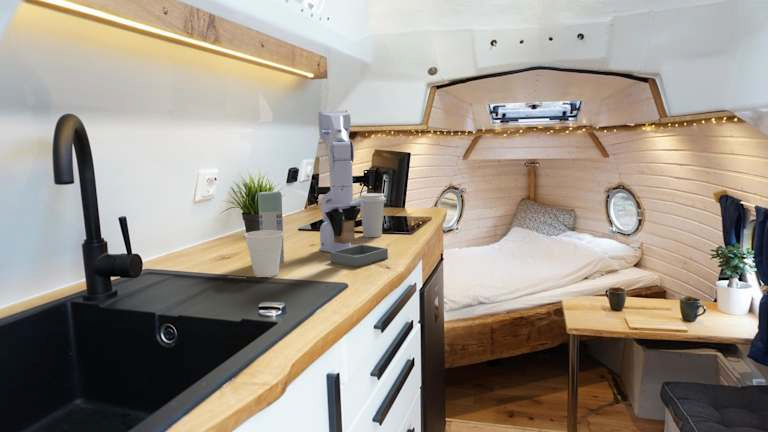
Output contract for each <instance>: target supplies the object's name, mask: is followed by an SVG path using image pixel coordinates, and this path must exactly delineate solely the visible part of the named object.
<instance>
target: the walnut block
mask: <svg viewBox="0 0 768 432" xmlns="http://www.w3.org/2000/svg"><path fill="white" fill-rule="evenodd" d="M334 242H335V243H341V244H347V243H351V244H352V243H355V225H354V220H347V219H343V220H342V233H341V236H334Z"/></svg>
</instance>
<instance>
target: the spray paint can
mask: <svg viewBox="0 0 768 432" xmlns="http://www.w3.org/2000/svg"><path fill="white" fill-rule="evenodd" d="M257 205H258V221H259V231H261V230H278V231H282V232H284V226H283V225H284V224H283V222H284V221H283V220H284V219H283V199H282V192H281V191H261V192H258V194H257ZM284 246H285V245H284V237H283V238H282V247H281V255H280V262H279V265H280V264H282V263H284V262H285V250H284Z"/></svg>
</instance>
